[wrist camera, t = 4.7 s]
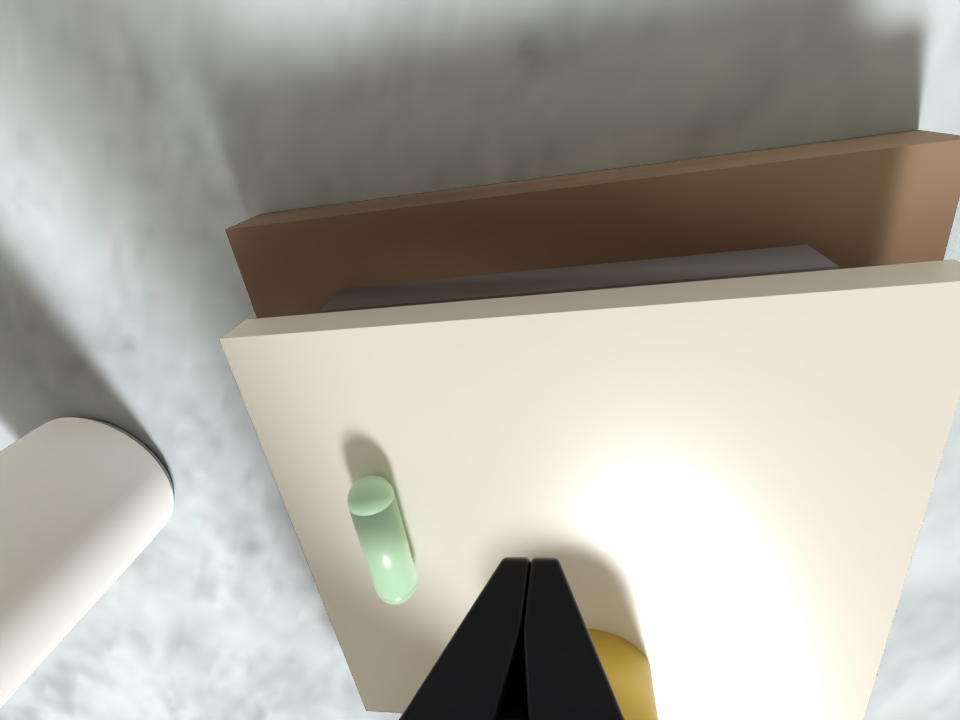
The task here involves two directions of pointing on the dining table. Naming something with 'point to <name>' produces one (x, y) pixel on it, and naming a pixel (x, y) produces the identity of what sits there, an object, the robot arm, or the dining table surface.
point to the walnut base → (613, 228)
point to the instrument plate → (623, 474)
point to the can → (69, 530)
